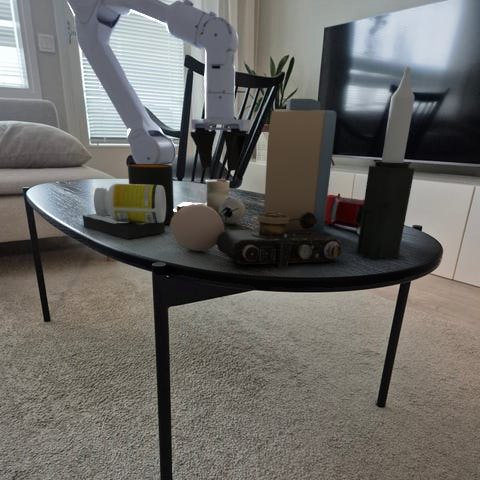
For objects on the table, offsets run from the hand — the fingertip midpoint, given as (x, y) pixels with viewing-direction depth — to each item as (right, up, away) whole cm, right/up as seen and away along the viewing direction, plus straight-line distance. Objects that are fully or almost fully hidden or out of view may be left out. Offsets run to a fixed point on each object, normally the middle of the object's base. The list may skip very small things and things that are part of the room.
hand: (219, 169), depth 87 cm
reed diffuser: (+1, -15, -10) cm, 18 cm away
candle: (+25, -21, -22) cm, 40 cm away
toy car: (+27, -10, -3) cm, 29 cm away
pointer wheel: (0, -7, +2) cm, 7 cm away
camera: (+9, -18, -24) cm, 31 cm away
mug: (-13, -11, -2) cm, 17 cm away
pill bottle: (-8, -12, -16) cm, 21 cm away
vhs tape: (-17, -15, -11) cm, 25 cm away
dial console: (-2, -9, +3) cm, 10 cm away
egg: (+1, -18, -27) cm, 33 cm away
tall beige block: (+15, -16, -10) cm, 24 cm away
